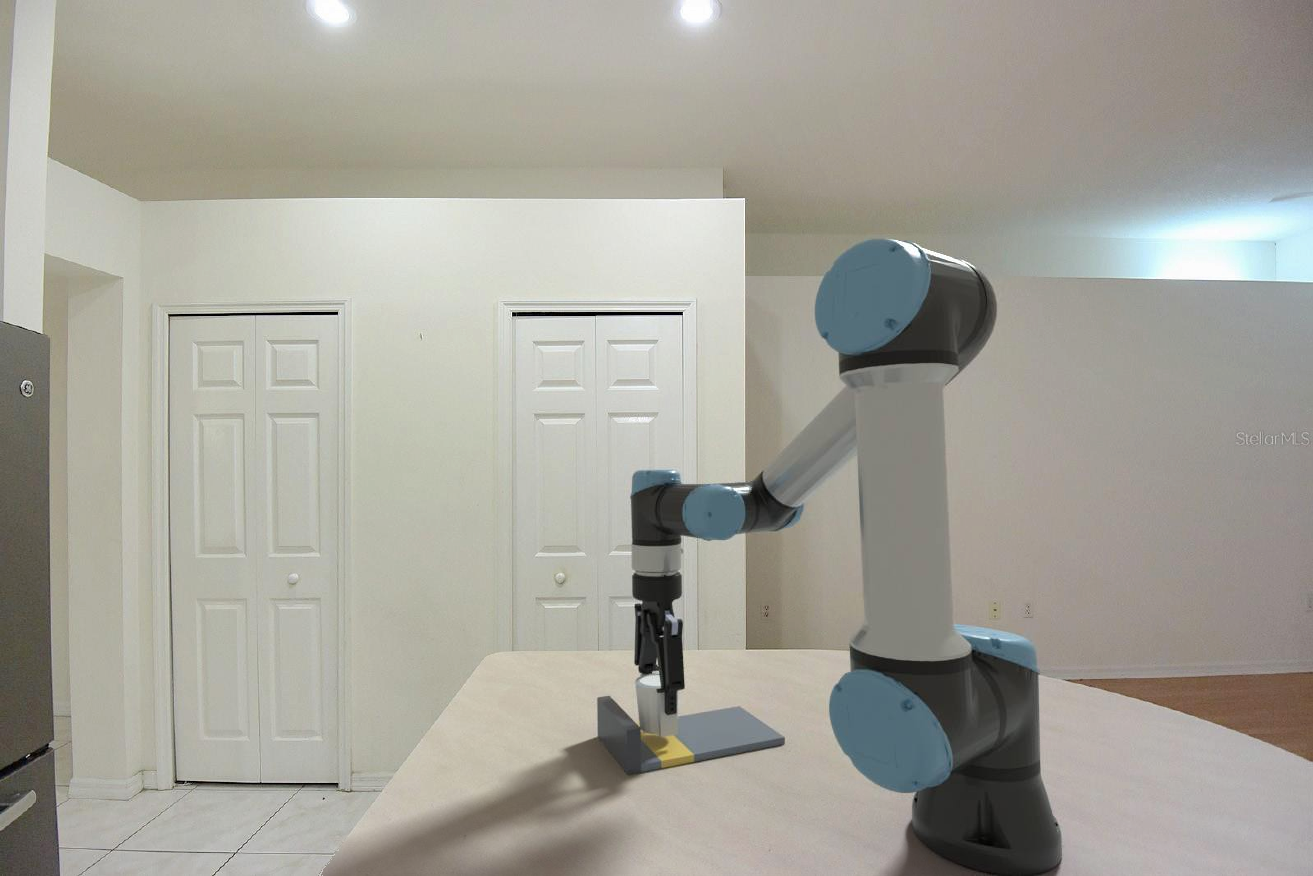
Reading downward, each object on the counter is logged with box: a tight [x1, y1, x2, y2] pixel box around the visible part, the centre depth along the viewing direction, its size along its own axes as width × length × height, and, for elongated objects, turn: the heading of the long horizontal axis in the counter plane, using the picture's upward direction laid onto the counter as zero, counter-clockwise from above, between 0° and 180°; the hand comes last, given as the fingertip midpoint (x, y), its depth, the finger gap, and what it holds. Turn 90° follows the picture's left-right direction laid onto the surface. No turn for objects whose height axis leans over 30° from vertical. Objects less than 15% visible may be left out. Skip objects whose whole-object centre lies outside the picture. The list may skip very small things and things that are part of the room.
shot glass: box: [634, 673, 681, 735], centre depth 102 cm, size 7×7×7 cm
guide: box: [596, 695, 786, 775], centre depth 103 cm, size 14×25×6 cm, turn 112°
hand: (658, 725), depth 101 cm, fingers closed on shot glass, 7 cm apart
